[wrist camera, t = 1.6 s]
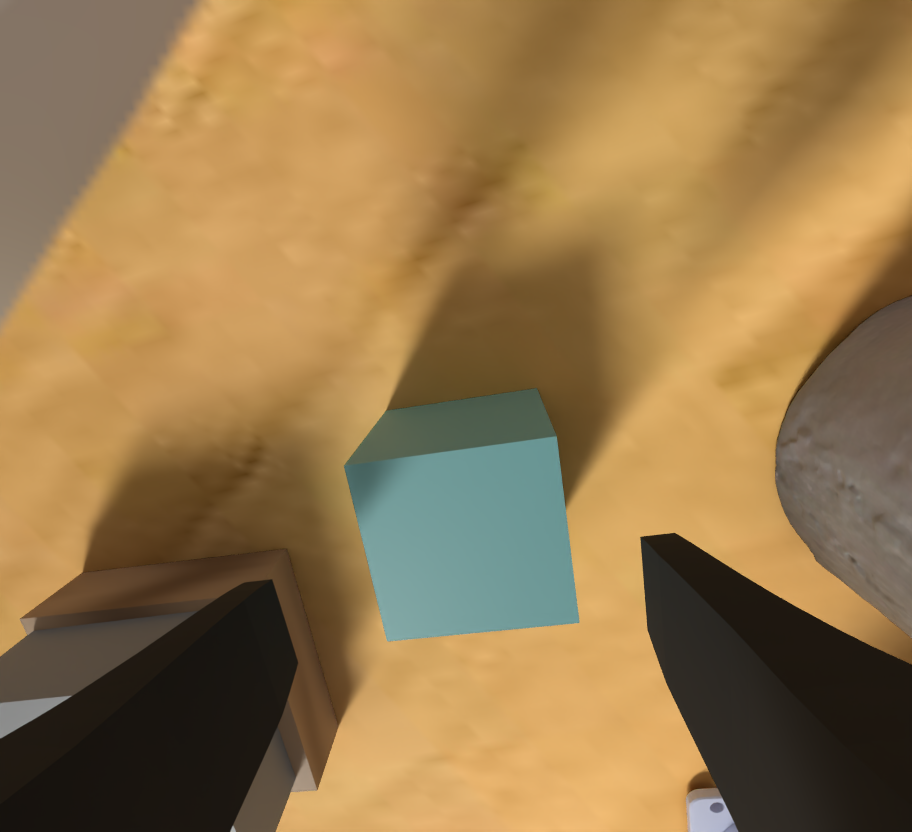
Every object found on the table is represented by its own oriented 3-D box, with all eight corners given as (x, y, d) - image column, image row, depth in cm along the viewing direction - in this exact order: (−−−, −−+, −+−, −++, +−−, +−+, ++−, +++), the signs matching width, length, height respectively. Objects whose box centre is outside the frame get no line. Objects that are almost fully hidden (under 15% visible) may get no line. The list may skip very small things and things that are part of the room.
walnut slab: (292, 541, 18) (253, 593, 15) (341, 715, 20) (317, 790, 17) (92, 565, 19) (19, 619, 16) (160, 729, 21) (107, 803, 18)
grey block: (234, 606, 15) (174, 685, 12) (296, 778, 17) (256, 881, 14) (33, 630, 16) (-68, 710, 13) (112, 792, 18) (40, 892, 15)
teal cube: (536, 387, 15) (556, 436, 11) (554, 525, 17) (579, 623, 12) (386, 410, 16) (343, 465, 11) (414, 542, 17) (387, 641, 12)
